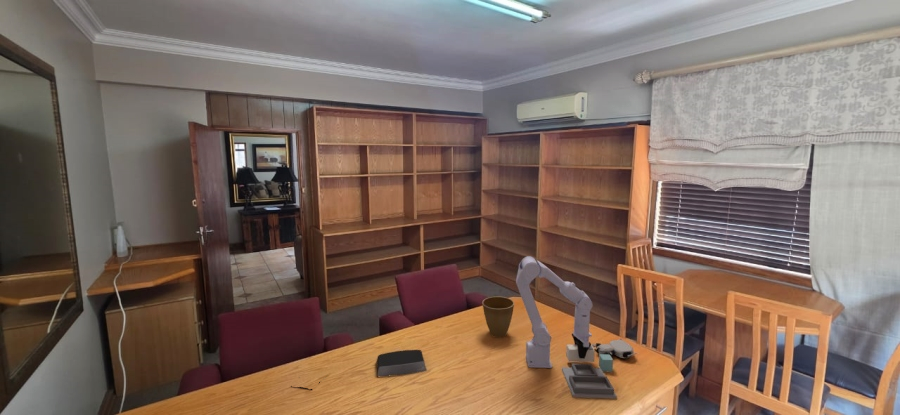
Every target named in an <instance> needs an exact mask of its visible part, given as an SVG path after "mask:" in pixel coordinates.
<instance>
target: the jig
mask: <svg viewBox="0 0 900 415" xmlns="http://www.w3.org/2000/svg"><path fill="white" fill-rule="evenodd" d="M561 372H562V374H563V376H564V379H565V381H566V384H567V387H568V388H569V391H570V394H571V396H572V398H583V399H584V398H589V399H613V400H614V399H618V396H617V394H616V392H615V389H614V388H615V387H613V385H612V383H611V382H610V379H609V378H608V377H607V376H606V375H605V374H604V373H605V372H602V370H601V368H600V367H594V366H593V364H592V363H574V362H573V363H571V367H569V366H567V367H566V366H565V367H564V366H561Z"/></svg>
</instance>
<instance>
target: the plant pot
mask: <svg viewBox="0 0 900 415" xmlns="http://www.w3.org/2000/svg"><path fill="white" fill-rule="evenodd" d="M514 307H515V302H514V300H512V299H511V298H509V297H505V296H491V297H487V298H485V299H483V300H482V309H483V313H484V315H483V316H484V318H485V321H486V325H487V328H488V331H489V333H490V335H491V336H492V337H494V338H499V339H500V338H504V337H505V336H506V335H507V334H508V331H509V328H510V326H511V322H512V318H513V313H514ZM506 337H507V336H506Z"/></svg>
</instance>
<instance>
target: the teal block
mask: <svg viewBox="0 0 900 415" xmlns="http://www.w3.org/2000/svg"><path fill="white" fill-rule="evenodd" d="M598 368H601V370H602V372H603V373H605V372H606V373H608V372H609V373H613V370H614V359H613V358H612V356H610V355H607V354H598Z"/></svg>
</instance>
